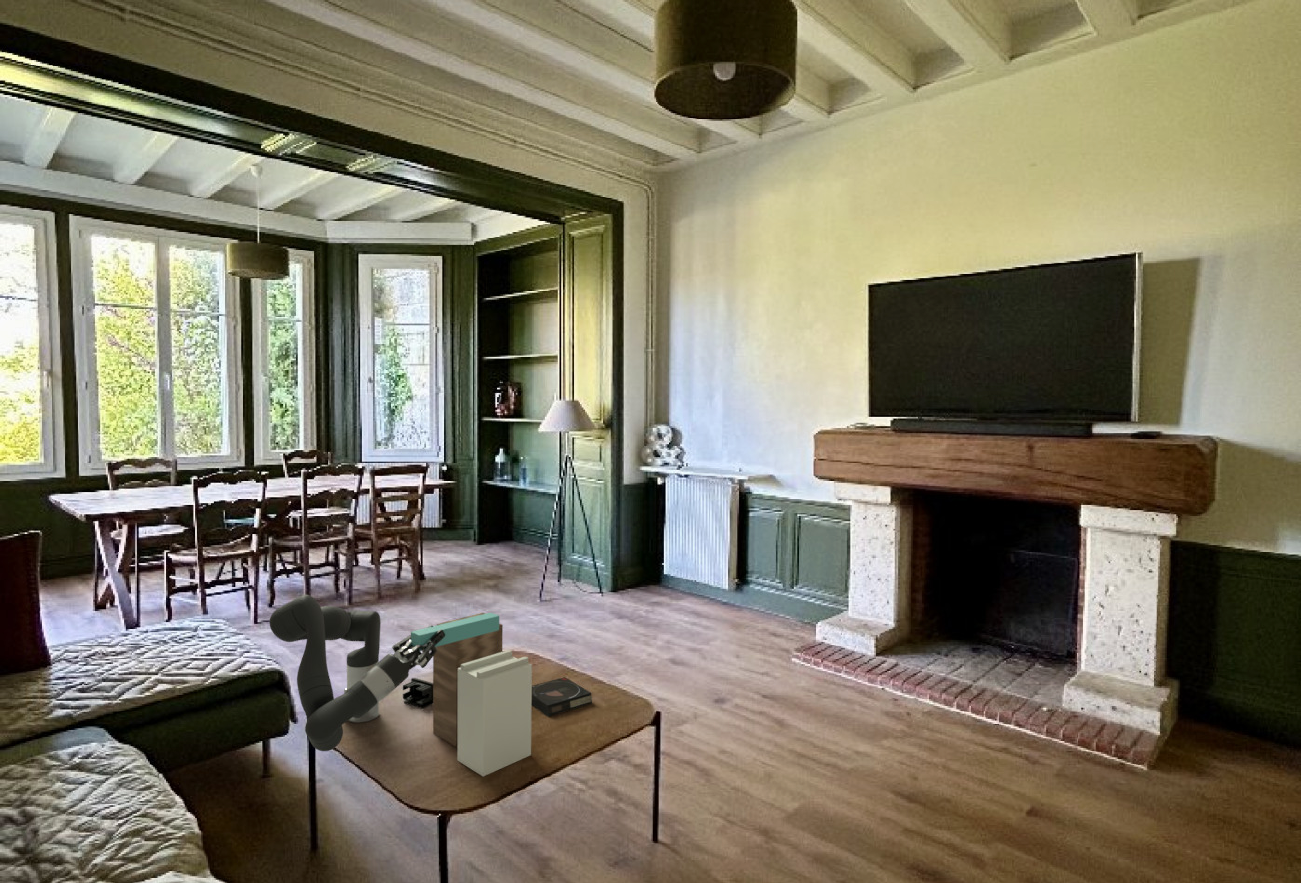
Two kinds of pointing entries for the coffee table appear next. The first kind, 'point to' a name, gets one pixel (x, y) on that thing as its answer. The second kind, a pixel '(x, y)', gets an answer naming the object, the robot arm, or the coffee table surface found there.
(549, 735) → the coffee table surface
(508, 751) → the grey plinth
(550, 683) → the portable cd player
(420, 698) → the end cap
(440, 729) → the walnut plinth
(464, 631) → the teal bar
